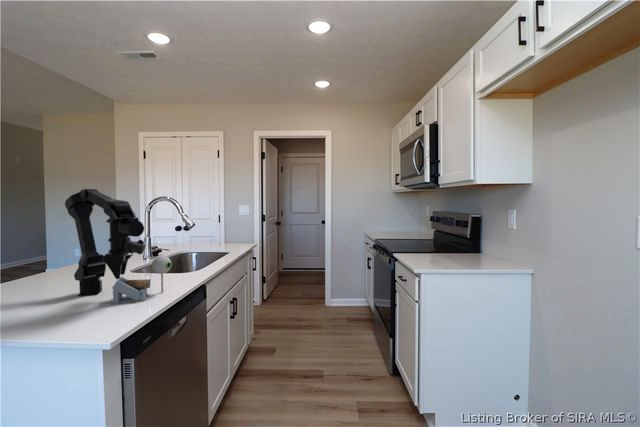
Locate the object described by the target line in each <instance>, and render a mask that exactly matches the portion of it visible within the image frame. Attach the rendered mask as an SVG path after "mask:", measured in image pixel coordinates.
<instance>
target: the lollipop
mask: <svg viewBox="0 0 640 427" xmlns="http://www.w3.org/2000/svg"><path fill="white" fill-rule="evenodd" d="M171 267H172V260H171V259H170V258H169V257H168V256H165V255H159V256H156V257H155V258H154V259H153V261H152V263H151V268H152V271H154V272H155V273H156V274H160V279H161V280H160V281H161V282H160V285H161V293H162V294H163V293H164V274H165V273H166V274H167V272H169V271H170V269H171Z"/></svg>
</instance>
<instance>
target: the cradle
mask: <svg viewBox="0 0 640 427" xmlns="http://www.w3.org/2000/svg"><path fill="white" fill-rule="evenodd" d="M126 280H129V279H127V277H126V278H125V277H124V276H120V279H116V282H115V283H114V284H113V285H112V287H111V289H112V300H111V302H109V305H116V304H118V305H119V304H125V303H126V304H128V303H137V302H138V303H139V302H145V301H146V300H147V299H148V297H149V293H148V288H132V287H130V286H129V285H127V284H125V281H126Z"/></svg>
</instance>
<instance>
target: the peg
mask: <svg viewBox="0 0 640 427" xmlns="http://www.w3.org/2000/svg"><path fill="white" fill-rule="evenodd" d="M125 284H127V285H129V286H130V287H132V288H147V289H149V288H151V279H150V278H149V279H147V278H146V279H128V280H126V281H125Z"/></svg>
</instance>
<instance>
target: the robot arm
mask: <svg viewBox="0 0 640 427" xmlns="http://www.w3.org/2000/svg"><path fill="white" fill-rule="evenodd" d="M64 205H65V206H64V207H65V209H66V210H67V213H68V215H69V216H70V217H71V218H72V219H74V222H75V228H76V232H77V236H78V242H79V246H80V252H81V253H80V254H81V256H80V258H79V260H78V262H77V263H78V264H77V265H78V267H77V269H76V271H75V273H74V274H73V276H74V280H75V281H78V282H79V285H78V286H79V294H78V295H77V296H78V297H83V296H84V297H85V296H95V295H99V294H100V293H101V292H102V291H103V280H101V278H104V277H105V275H106V269H107V267H108V268H109V270H110V272H111V273H112V275H113V277H114V278H115V279H116V280H119V279H120V278H121V275H125V274H126V269H127V266H128V261H129V259H130V258H132V257H133V255H134V253H135V254H138V255H142V254H143V253H144V252H145V249H146V246H147V244H146V243H145V242H144V239H143V240H142V239H138V240H137V241H132V240H131V237H140V236H142V235H143V233H144V231H145V226H144V224H143V222H141V221H140V220H139V217H137V216H136V213H135V211H134V210H133V208H132V206H131V205H130V202H128V200H123V199H115V198H114V199H113V198H112V197H111V196H108V195H106V194H104V193H102V192H100V191H99V190H98V189H96V188H83V189H81V190H79V192H76V193H74V194H72V195H71V194H70V196H69V197H68V198H67V199H66V200H65V202H64ZM95 205H96V206H98V207H100V208H101V209H103V213H104V214H105V215H106V216H107V217H109V218H108V219H106V223H109V238H108V240H107V241H108V242H109V244H110V246H109V249H108V253H105V255H104V254H100V253H99V252H98V251H97V247H96V242H95V241H96V240H95V236H94V232H93V227H92V223H91V218H90V217H91V215H92V213H93V210H94V206H95Z"/></svg>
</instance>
